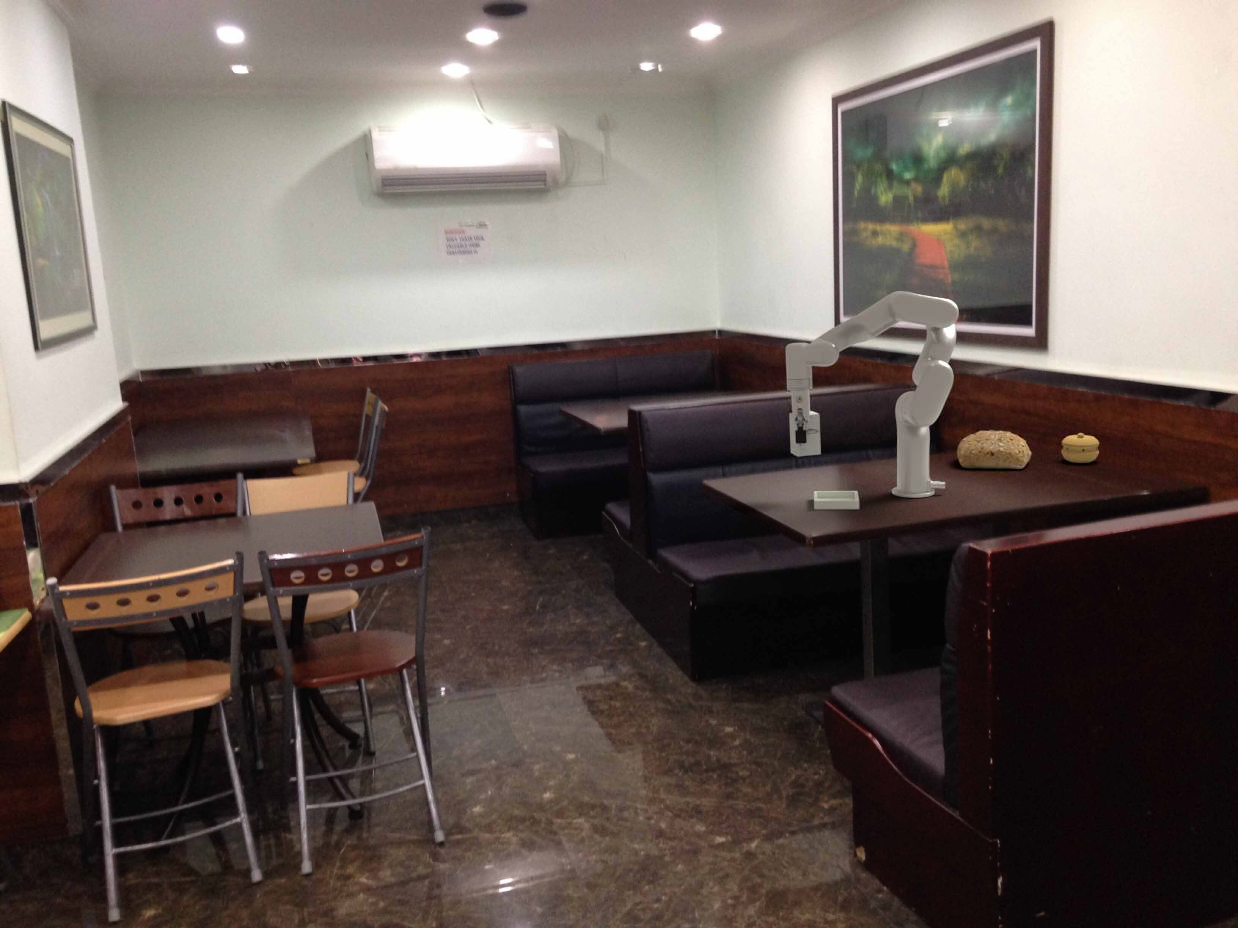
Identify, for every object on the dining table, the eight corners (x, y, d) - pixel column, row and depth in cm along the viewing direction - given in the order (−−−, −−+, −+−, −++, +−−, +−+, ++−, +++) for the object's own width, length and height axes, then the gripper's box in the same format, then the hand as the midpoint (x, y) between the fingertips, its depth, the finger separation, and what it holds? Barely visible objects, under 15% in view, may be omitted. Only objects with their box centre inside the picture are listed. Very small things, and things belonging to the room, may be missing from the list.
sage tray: (857, 498, 316) (857, 490, 316) (859, 509, 304) (859, 500, 303) (814, 499, 319) (814, 491, 318) (814, 509, 306) (814, 501, 306)
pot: (1053, 461, 357) (1054, 432, 355) (1081, 457, 360) (1082, 429, 358) (1077, 466, 346) (1078, 437, 344) (1106, 463, 349) (1107, 434, 347)
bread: (955, 470, 350) (956, 435, 348) (957, 458, 370) (958, 425, 367) (1033, 472, 342) (1034, 436, 339) (1031, 459, 361) (1032, 425, 359)
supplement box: (798, 457, 312) (796, 415, 310) (790, 453, 319) (788, 412, 317) (821, 454, 313) (820, 413, 311) (813, 450, 320) (811, 410, 318)
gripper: (811, 387, 303) (813, 445, 306) (812, 380, 319) (814, 435, 323) (785, 388, 304) (787, 446, 308) (788, 381, 321) (790, 435, 324)
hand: (801, 440), depth 315 cm, fingers closed on supplement box, 8 cm apart
